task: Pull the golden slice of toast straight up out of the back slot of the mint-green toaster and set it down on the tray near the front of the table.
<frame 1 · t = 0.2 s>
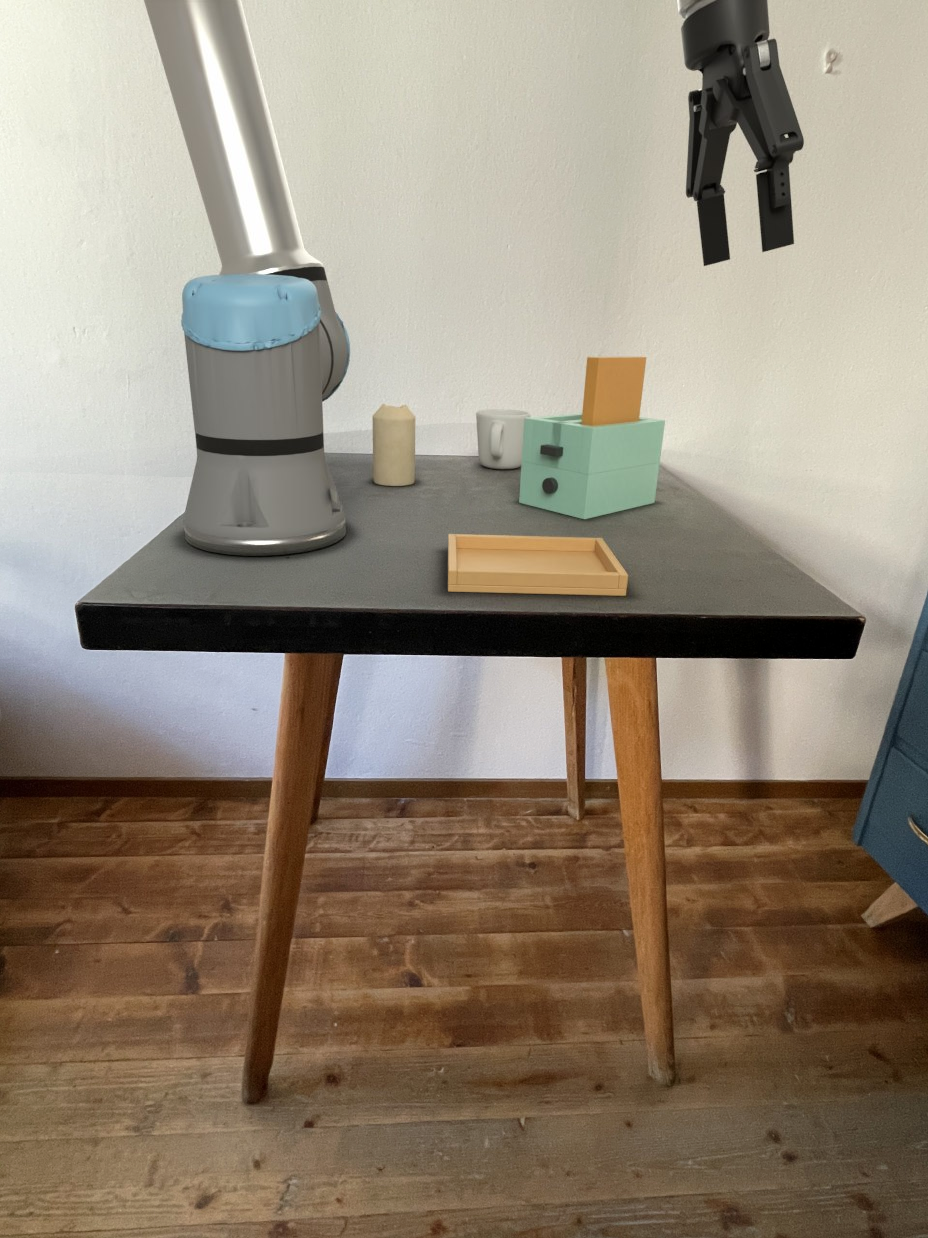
hand: (745, 256, 75), 27 cm above the table, tool tilted 15°, fingers open, 13 cm apart
cup: (499, 469, 110), on the table
candle: (394, 483, 98), on the table
tray: (530, 572, 64), on the table
toast: (606, 464, 87), point 5 cm above the table, touching toaster
toaster: (587, 502, 90), on the table
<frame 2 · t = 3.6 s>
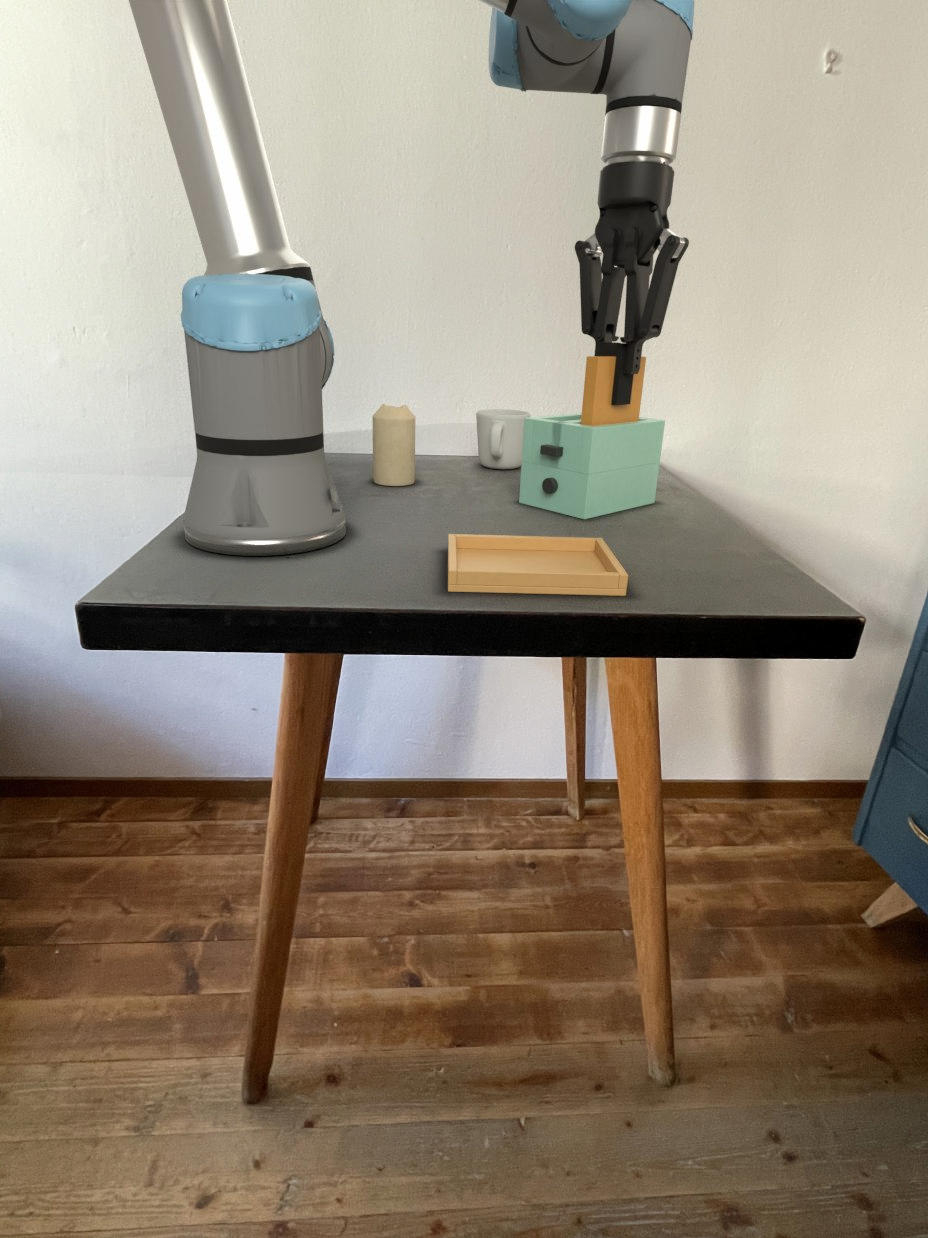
hand: (612, 402, 84), 12 cm above the table, tool pointing down, fingers closed on toast, 1 cm apart
toast: (606, 464, 87), point 5 cm above the table, touching gripper
everything else where it was.
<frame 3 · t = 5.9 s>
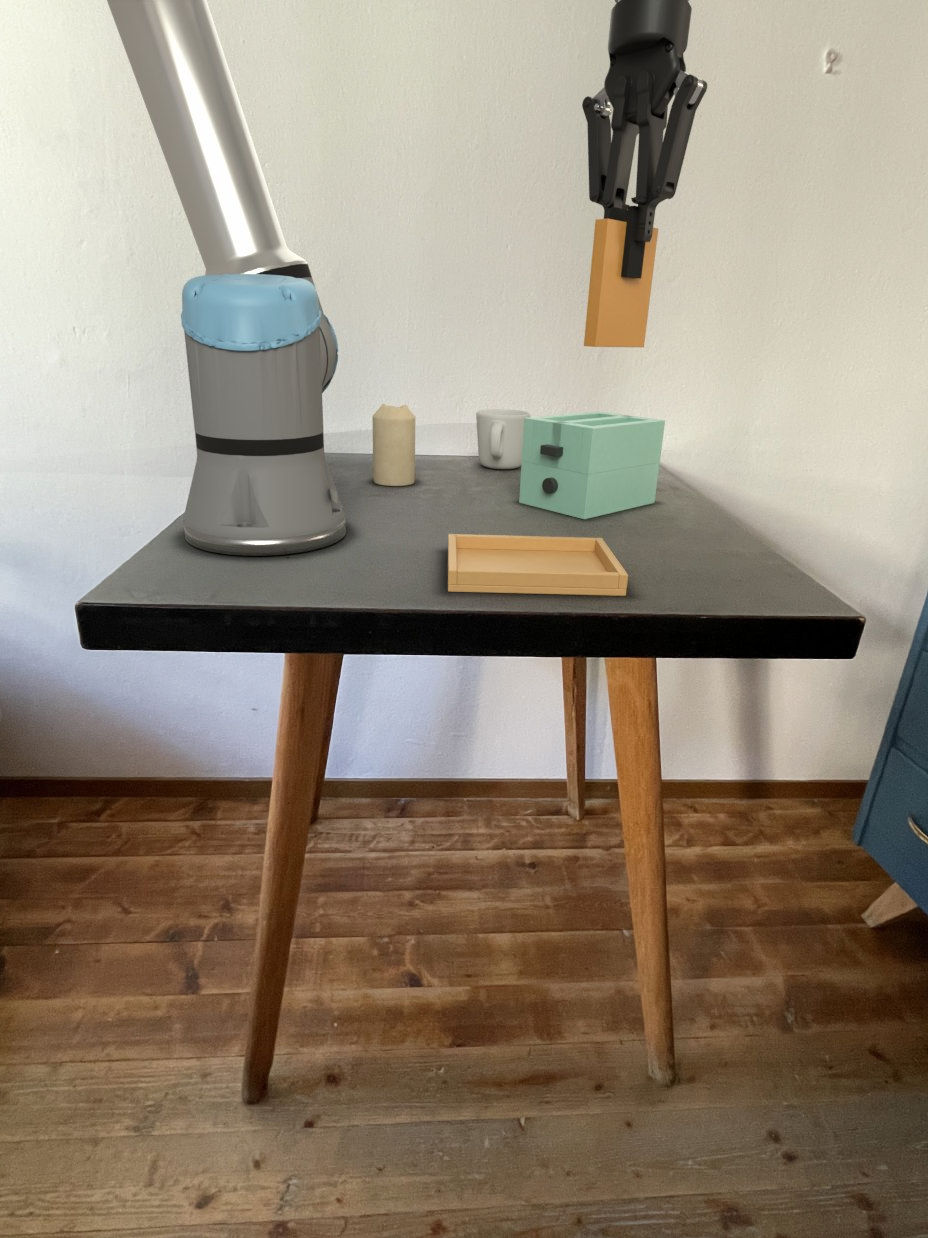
hand: (622, 276, 79), 25 cm above the table, tool pointing down, fingers closed on toast, 1 cm apart
toast: (614, 346, 81), point 18 cm above the table, touching gripper
everything else where it was.
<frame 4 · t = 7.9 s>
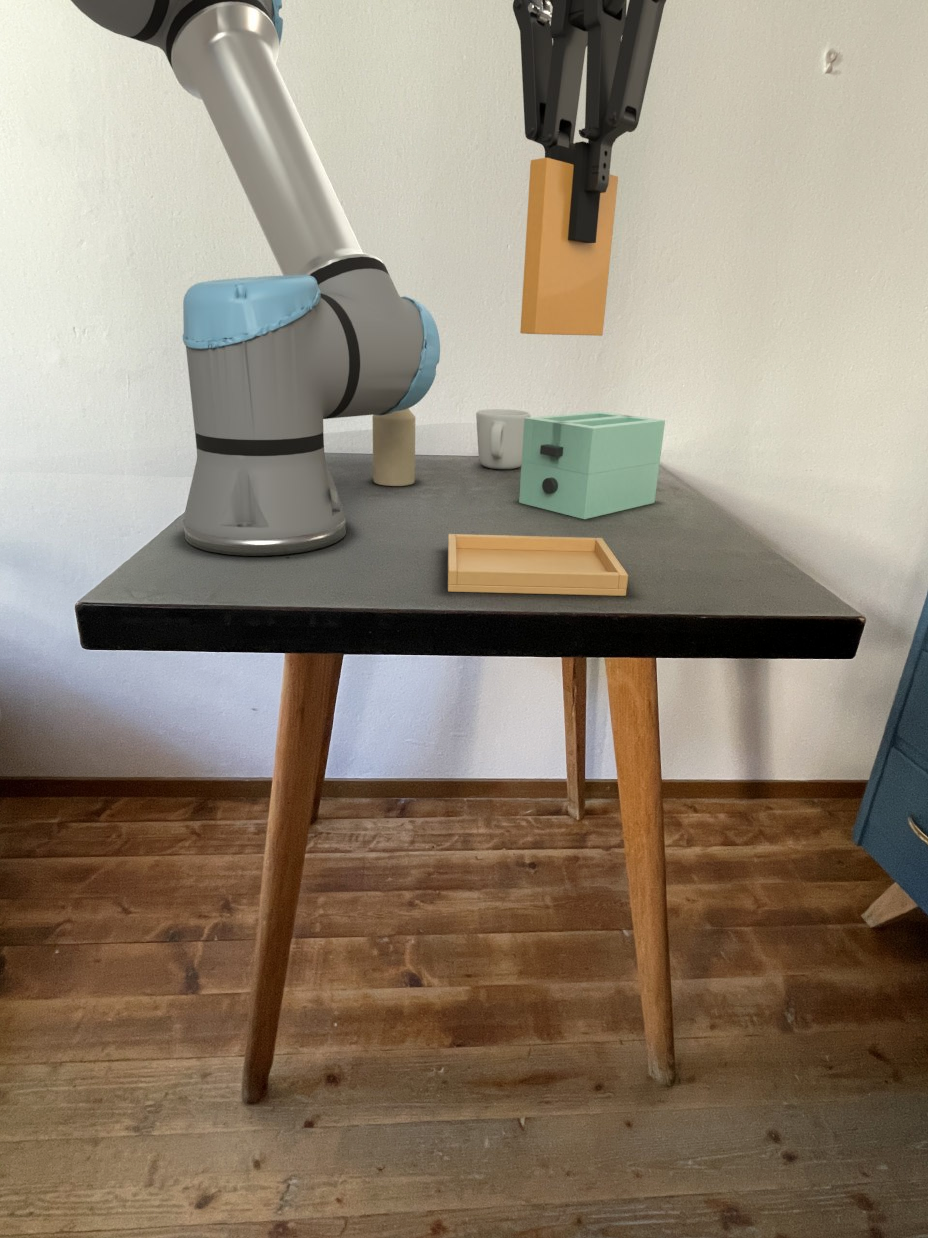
hand: (570, 241, 59), 26 cm above the table, tool pointing down, fingers closed on toast, 1 cm apart
toast: (562, 334, 62), point 19 cm above the table, touching gripper
everything else where it was.
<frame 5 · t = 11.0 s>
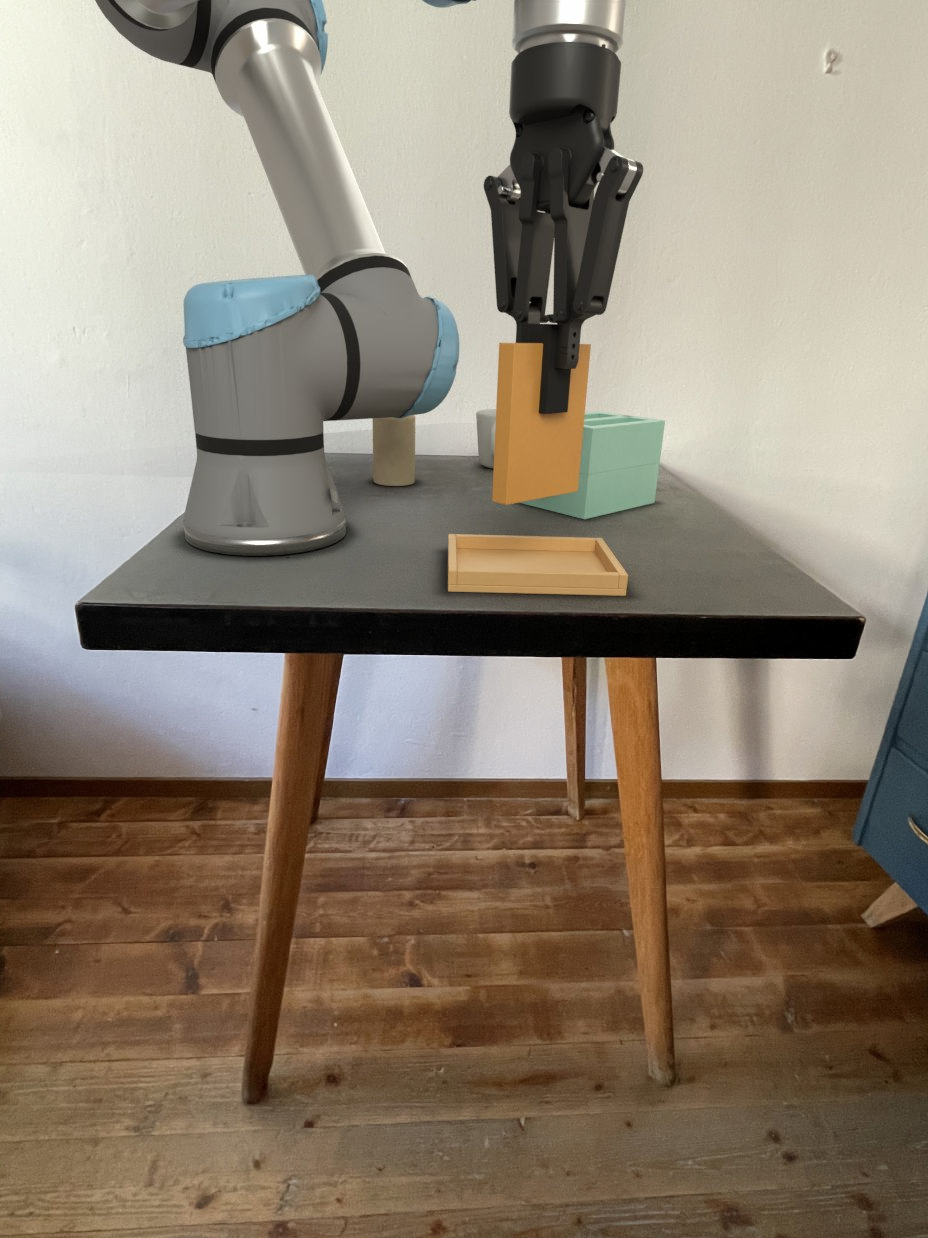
hand: (542, 410, 59), 14 cm above the table, tool pointing down, fingers closed on toast, 1 cm apart
toast: (536, 496, 62), point 7 cm above the table, touching gripper
everything else where it was.
when the fingers open (8 cm above the table, at t = 12.7 s): toast stays where it is, resting on tray.
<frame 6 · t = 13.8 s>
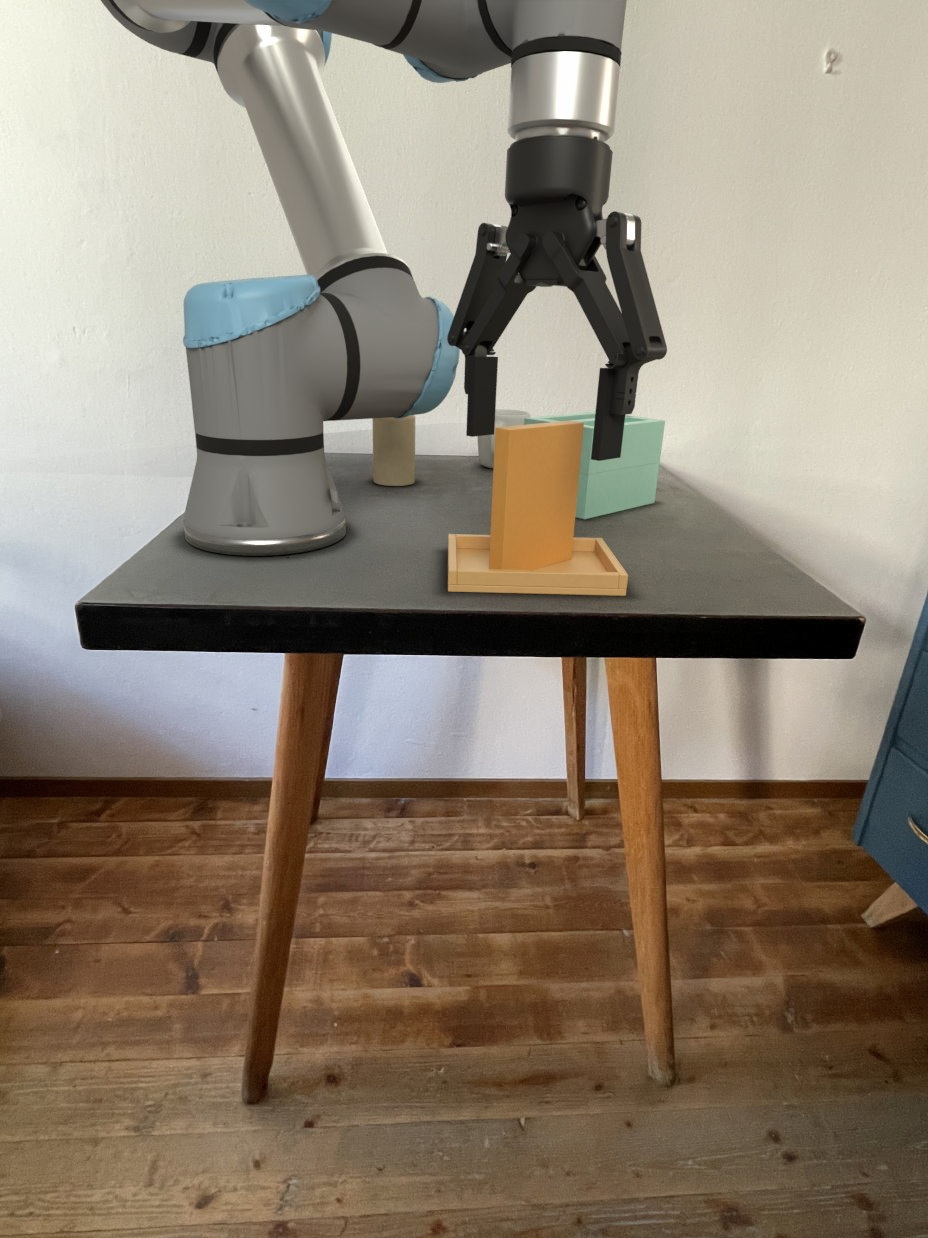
hand: (538, 446, 60), 11 cm above the table, tool pointing down, fingers open, 13 cm apart
toast: (531, 566, 64), point 1 cm above the table, touching tray
everything else where it was.
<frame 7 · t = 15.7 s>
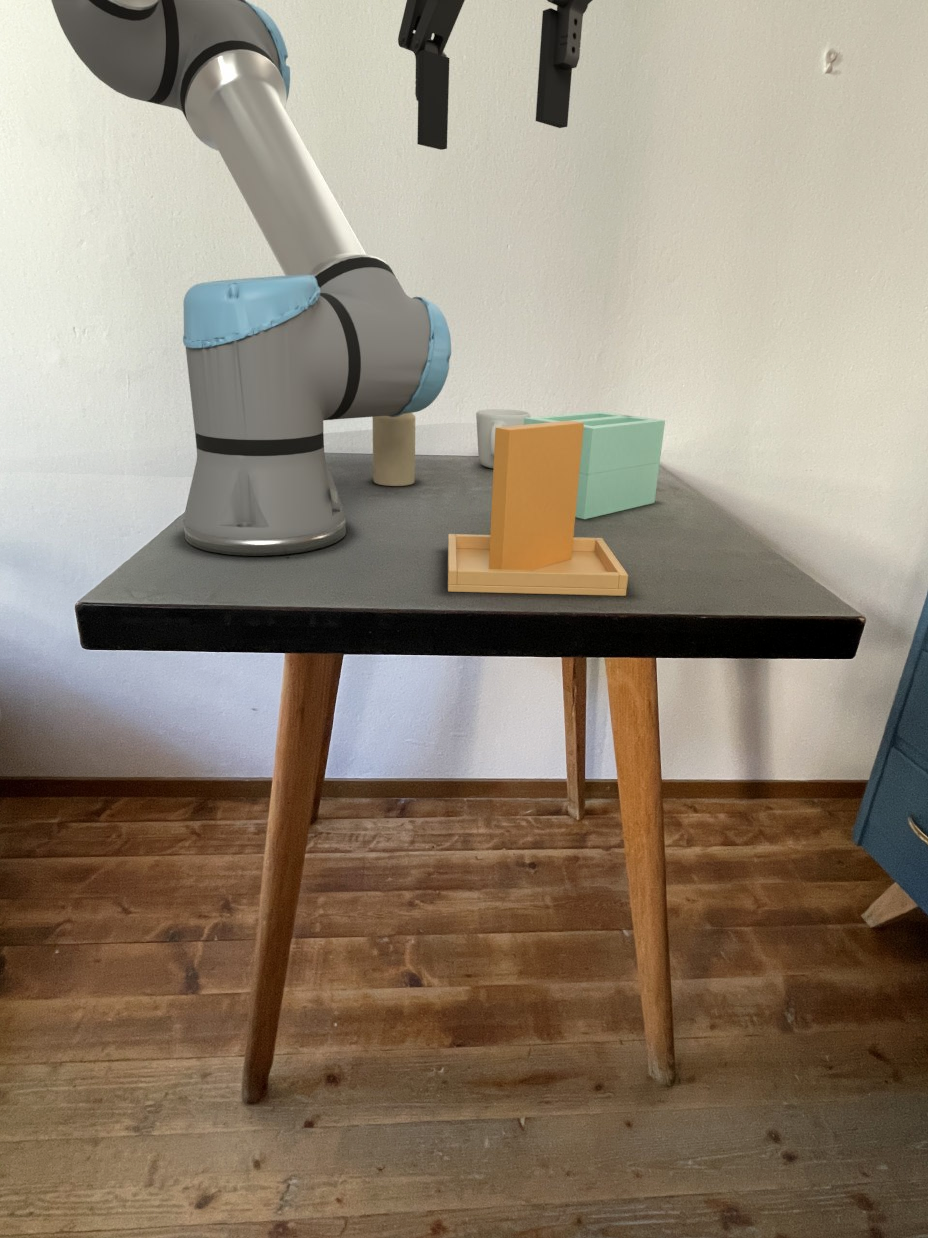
hand: (487, 136, 59), 34 cm above the table, tool pointing down, fingers open, 13 cm apart
nothing on the table moved.
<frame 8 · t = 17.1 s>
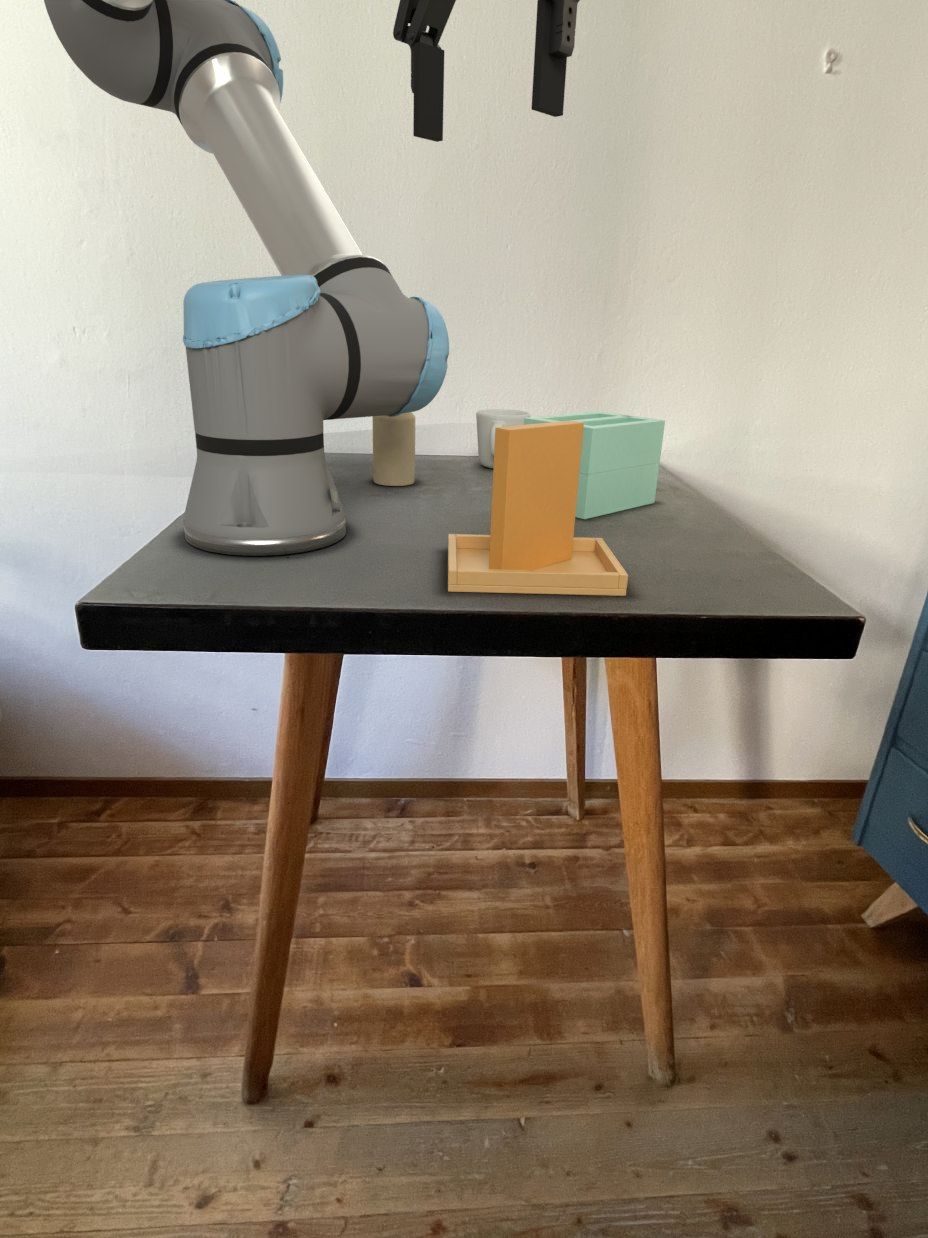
hand: (483, 126, 59), 35 cm above the table, tool pointing down, fingers open, 13 cm apart
nothing on the table moved.
at the end: toast inside the target area in the tray (0.1 cm from its centre), point 0.6 cm above the tray's base; the gripper is holding nothing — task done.
